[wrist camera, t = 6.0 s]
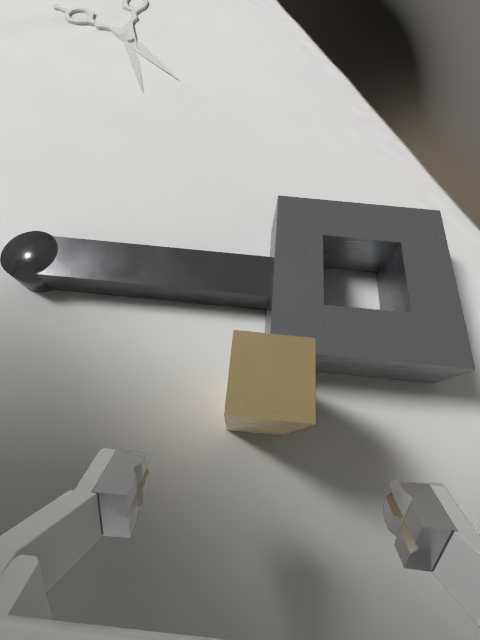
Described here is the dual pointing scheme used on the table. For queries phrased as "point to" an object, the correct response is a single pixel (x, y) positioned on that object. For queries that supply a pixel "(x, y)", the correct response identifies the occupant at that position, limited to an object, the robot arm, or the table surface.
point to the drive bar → (271, 383)
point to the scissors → (120, 35)
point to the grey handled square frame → (293, 283)
